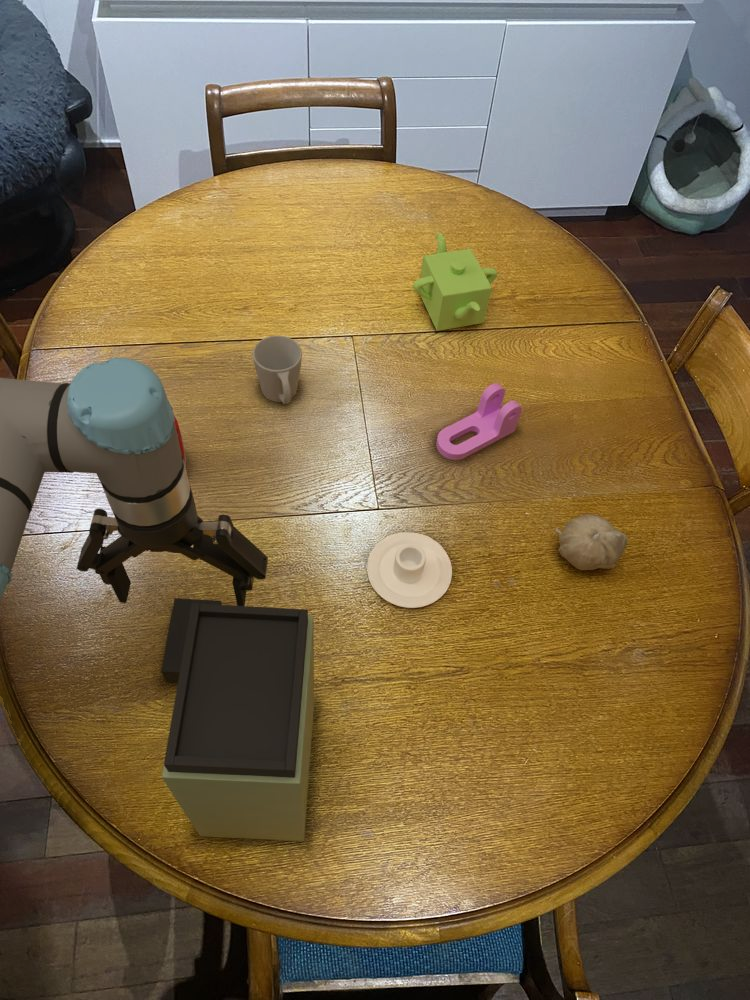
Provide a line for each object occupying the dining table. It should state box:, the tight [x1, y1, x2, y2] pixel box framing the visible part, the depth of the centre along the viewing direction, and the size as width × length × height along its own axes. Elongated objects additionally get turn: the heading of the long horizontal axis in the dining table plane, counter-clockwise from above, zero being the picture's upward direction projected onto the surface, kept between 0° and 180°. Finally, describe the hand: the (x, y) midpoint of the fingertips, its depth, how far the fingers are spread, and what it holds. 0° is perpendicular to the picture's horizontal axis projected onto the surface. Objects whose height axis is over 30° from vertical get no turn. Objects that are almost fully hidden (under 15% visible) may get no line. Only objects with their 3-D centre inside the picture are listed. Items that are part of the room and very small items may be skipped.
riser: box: [161, 615, 315, 842], centre depth 84 cm, size 12×16×27 cm
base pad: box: [163, 603, 309, 778], centre depth 71 cm, size 11×15×2 cm
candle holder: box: [366, 531, 453, 609], centre depth 109 cm, size 12×12×4 cm
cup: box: [252, 335, 303, 405], centre depth 124 cm, size 8×10×8 cm
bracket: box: [435, 382, 523, 461], centre depth 122 cm, size 13×6×7 cm, turn 124°
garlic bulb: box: [554, 513, 629, 571], centre depth 110 cm, size 9×8×10 cm
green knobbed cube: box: [412, 232, 499, 332], centre depth 136 cm, size 15×13×11 cm
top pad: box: [160, 597, 223, 684], centre depth 101 cm, size 10×6×4 cm, turn 178°
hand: (184, 595), depth 92 cm, fingers open, 13 cm apart
